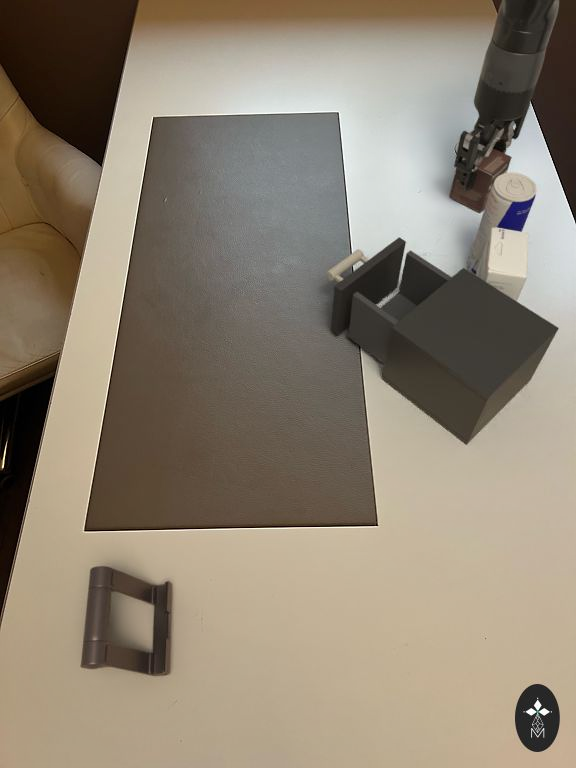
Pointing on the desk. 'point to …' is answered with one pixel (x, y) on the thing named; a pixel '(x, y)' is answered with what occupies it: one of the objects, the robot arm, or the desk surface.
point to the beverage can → (503, 211)
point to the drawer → (380, 294)
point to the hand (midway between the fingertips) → (479, 177)
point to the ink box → (505, 261)
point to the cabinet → (465, 353)
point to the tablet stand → (98, 615)
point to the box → (481, 180)
